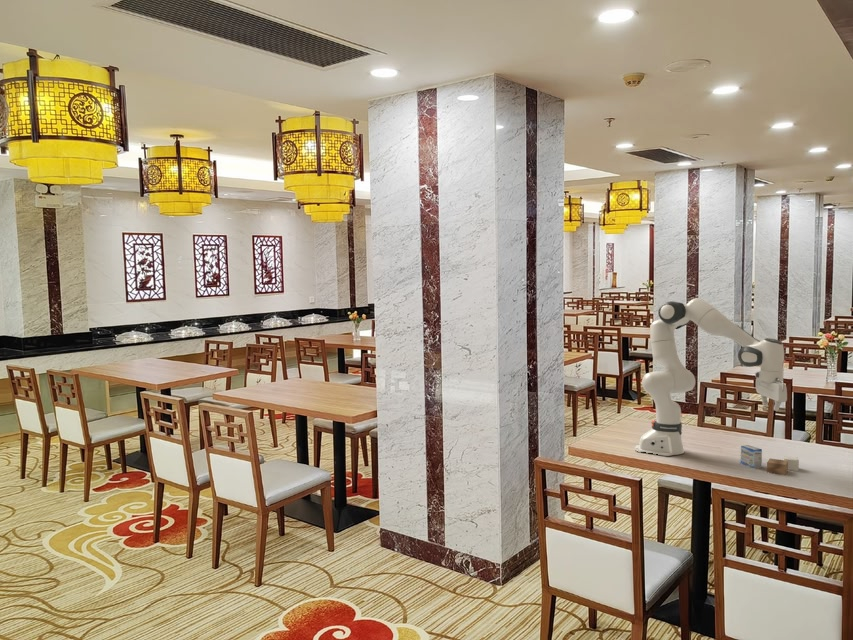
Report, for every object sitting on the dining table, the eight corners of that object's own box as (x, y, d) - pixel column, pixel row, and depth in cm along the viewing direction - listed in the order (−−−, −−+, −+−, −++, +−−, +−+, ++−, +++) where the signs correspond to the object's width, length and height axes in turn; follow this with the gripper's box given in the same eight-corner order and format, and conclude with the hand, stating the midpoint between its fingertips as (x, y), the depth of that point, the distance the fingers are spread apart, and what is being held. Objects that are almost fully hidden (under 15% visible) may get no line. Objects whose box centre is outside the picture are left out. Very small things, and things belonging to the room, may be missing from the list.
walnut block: (766, 473, 286) (767, 462, 285) (769, 469, 291) (769, 458, 291) (785, 476, 282) (785, 464, 281) (787, 472, 287) (787, 460, 287)
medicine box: (740, 464, 299) (740, 445, 299) (747, 463, 301) (748, 444, 300) (754, 469, 292) (754, 449, 291) (762, 468, 293) (762, 448, 293)
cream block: (785, 470, 289) (785, 459, 289) (784, 467, 294) (784, 456, 294) (798, 471, 287) (798, 460, 287) (797, 468, 292) (797, 457, 292)
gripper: (791, 380, 277) (790, 413, 278) (767, 372, 297) (766, 402, 298) (776, 381, 277) (775, 413, 278) (753, 372, 297) (752, 402, 299)
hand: (770, 407), depth 289 cm, fingers open, 8 cm apart
